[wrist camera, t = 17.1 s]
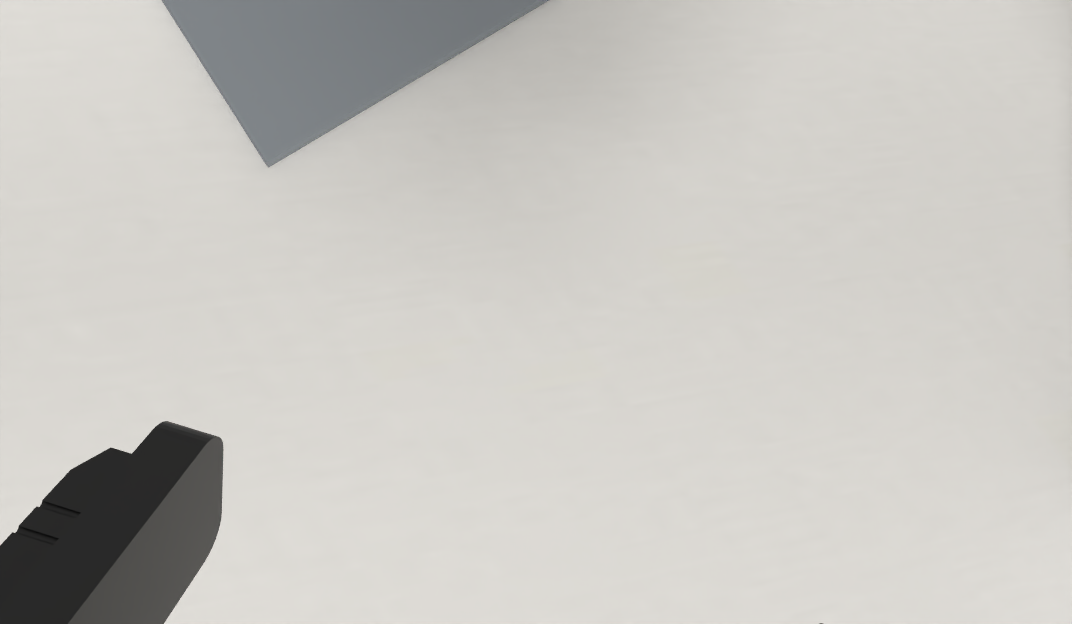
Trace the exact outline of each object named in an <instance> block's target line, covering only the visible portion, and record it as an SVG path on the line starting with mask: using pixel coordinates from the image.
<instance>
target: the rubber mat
mask: <svg viewBox="0 0 1072 624" xmlns="http://www.w3.org/2000/svg"><path fill="white" fill-rule="evenodd" d="M162 1H163V3H164V5H165V6H166V8H167V9H168V11H169V12H170V14H171V16H172V17H173V19H174V20H175V22H176V24H177V25H178V27H179V28H180V30H181V31H182V33H183V35H184V36H185V38H186V39H187V41H188V42H189V44H190V46H191V47H192V49H193V50H194V52H195V53H196V55H197V57H198V58H199V60H200V61H201V63H202V64H203V66H204V68H205V69H206V71H207V72H208V74H209V75H210V77H211V79H212V80H213V82H214V83H215V85H216V87H217V88H218V90H219V91H220V93H221V94H222V96H223V98H224V99H225V101H226V102H227V104H228V105H229V107H230V109H231V110H232V112H233V113H234V115H235V116H236V118H237V120H238V121H239V123H240V124H241V126H242V127H243V129H244V131H245V132H246V134H247V135H248V137H249V138H250V140H251V142H252V143H253V145H254V146H255V148H256V149H257V151H258V153H259V154H260V156H261V157H262V159H263V161H264V162H265V164H266V165H267V166H268V167H270V166H272V165H273V164H275V163H277V162H278V161H280V160H282V159H283V158H285V157H287V156H288V155H290V154H292V153H293V152H295V151H297V150H298V149H300V148H302V147H303V146H305V145H307V144H308V143H310V142H312V141H314V140H315V139H317V138H319V137H320V136H322V135H324V134H325V133H327V132H329V131H330V130H332V129H334V128H335V127H337V126H339V125H340V124H342V123H344V122H345V121H347V120H349V119H350V118H352V117H354V116H355V115H357V114H359V113H360V112H362V111H364V110H365V109H367V108H369V107H371V106H372V105H374V104H376V103H377V102H379V101H381V100H382V99H384V98H386V97H387V96H389V95H391V94H392V93H394V92H396V91H397V90H399V89H401V88H402V87H404V86H406V85H407V84H409V83H411V82H412V81H414V80H416V79H417V78H419V77H421V76H423V75H424V74H426V73H428V72H429V71H431V70H433V69H434V68H436V67H438V66H439V65H441V64H443V63H444V62H446V61H448V60H449V59H451V58H453V57H454V56H456V55H458V54H459V53H461V52H463V51H464V50H466V49H468V48H469V47H471V46H473V45H475V44H476V43H478V42H480V41H481V40H483V39H485V38H486V37H488V36H490V35H491V34H493V33H495V32H496V31H498V30H500V29H501V28H503V27H505V26H506V25H508V24H510V23H511V22H513V21H515V20H516V19H518V18H520V17H521V16H523V15H525V14H527V13H528V12H530V11H532V10H533V9H535V8H537V7H538V6H540V5H542V4H543V3H545V2H547V1H548V0H162Z"/></svg>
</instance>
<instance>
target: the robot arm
mask: <svg viewBox="0 0 1072 624" xmlns="http://www.w3.org/2000/svg"><path fill="white" fill-rule="evenodd" d="M222 479H223V442H222V439H221V438H220V437H217V436H214V435H211V434H207V433H204V432H201V431H198V430H194V429H191V428H188V427H184V426H181V425H178V424H175V423H171V422H168V421H165V422H162V423H160V424H159V425H157V426H156V427H155V428H154V429H153V430H152V431H151V432H150V434H149V435H148V436H147V437H146V438H145V439H144V441H143V442H142V443H141V444H140V445H139V446H138V447H137V449H136V450H135V451H134V452H133V453H132V454H130V453H127V452H124V451H120V450H117V449H114V448H109V449H107V450H106V451H104V452H102V453H100V454H98V455H97V456H95V457H93V458H91V459H89V460H87V461H86V462H84V463H82V464H80V465H78V466H77V467H75V468H73V469H71V470H70V471H69V472H68V473H67V474H66V476H65V477H64V478H63V479H62V480H61V481H60V482H59V483H58V484H57V485H56V486H55V487H54V488H53V490H52V491H51V492H50V493H49V494H48V495H47V496H46V497H45V498H44V499H43V500H42V504H41V506H40V507H36V508H35V509H34V510H33V511H32V512H31V513H30V514H29V515H28V516H27V517H26V519H25V520H24V521H23V522H22V523H21V524H20V525H19V528H18V530H17V532H16V533H12V534H11V535H10V536H9V537H8V538H7V539H6V540H5V541H4V542H3V543H2V544H1V545H0V624H164V622H165V621H166V619H167V618H168V616H169V615H170V613H171V612H172V610H173V609H174V607H175V606H176V604H177V603H178V601H179V600H180V598H181V597H182V595H183V594H184V592H185V591H186V589H187V588H188V586H189V585H190V583H191V582H192V580H193V578H194V577H195V575H196V574H197V572H198V571H199V569H200V568H201V566H202V565H203V563H204V562H205V560H206V558H207V557H208V555H209V553H210V551H211V549H212V546H213V544H214V542H215V539H216V536H217V533H218V530H219V526H220V522H221V514H222ZM820 624H822V623H820Z"/></svg>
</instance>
